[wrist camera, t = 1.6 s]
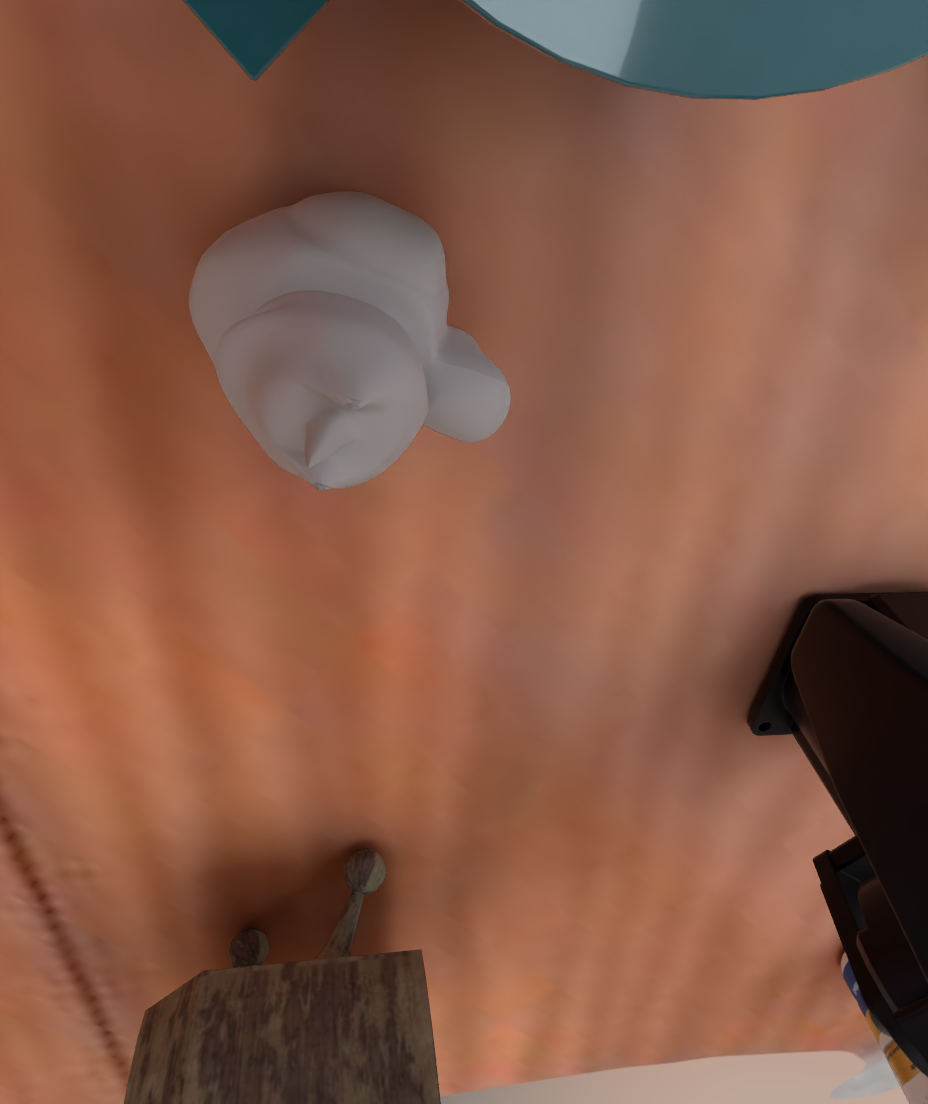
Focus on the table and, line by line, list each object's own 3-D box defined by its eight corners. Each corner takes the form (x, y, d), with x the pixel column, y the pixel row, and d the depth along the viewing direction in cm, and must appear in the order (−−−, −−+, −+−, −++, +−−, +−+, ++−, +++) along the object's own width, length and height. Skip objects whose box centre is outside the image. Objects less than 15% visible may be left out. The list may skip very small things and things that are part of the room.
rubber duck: (242, 114, 15) (184, 213, 9) (531, 249, 18) (649, 403, 11) (176, 358, 18) (96, 568, 12) (435, 446, 20) (487, 661, 14)
